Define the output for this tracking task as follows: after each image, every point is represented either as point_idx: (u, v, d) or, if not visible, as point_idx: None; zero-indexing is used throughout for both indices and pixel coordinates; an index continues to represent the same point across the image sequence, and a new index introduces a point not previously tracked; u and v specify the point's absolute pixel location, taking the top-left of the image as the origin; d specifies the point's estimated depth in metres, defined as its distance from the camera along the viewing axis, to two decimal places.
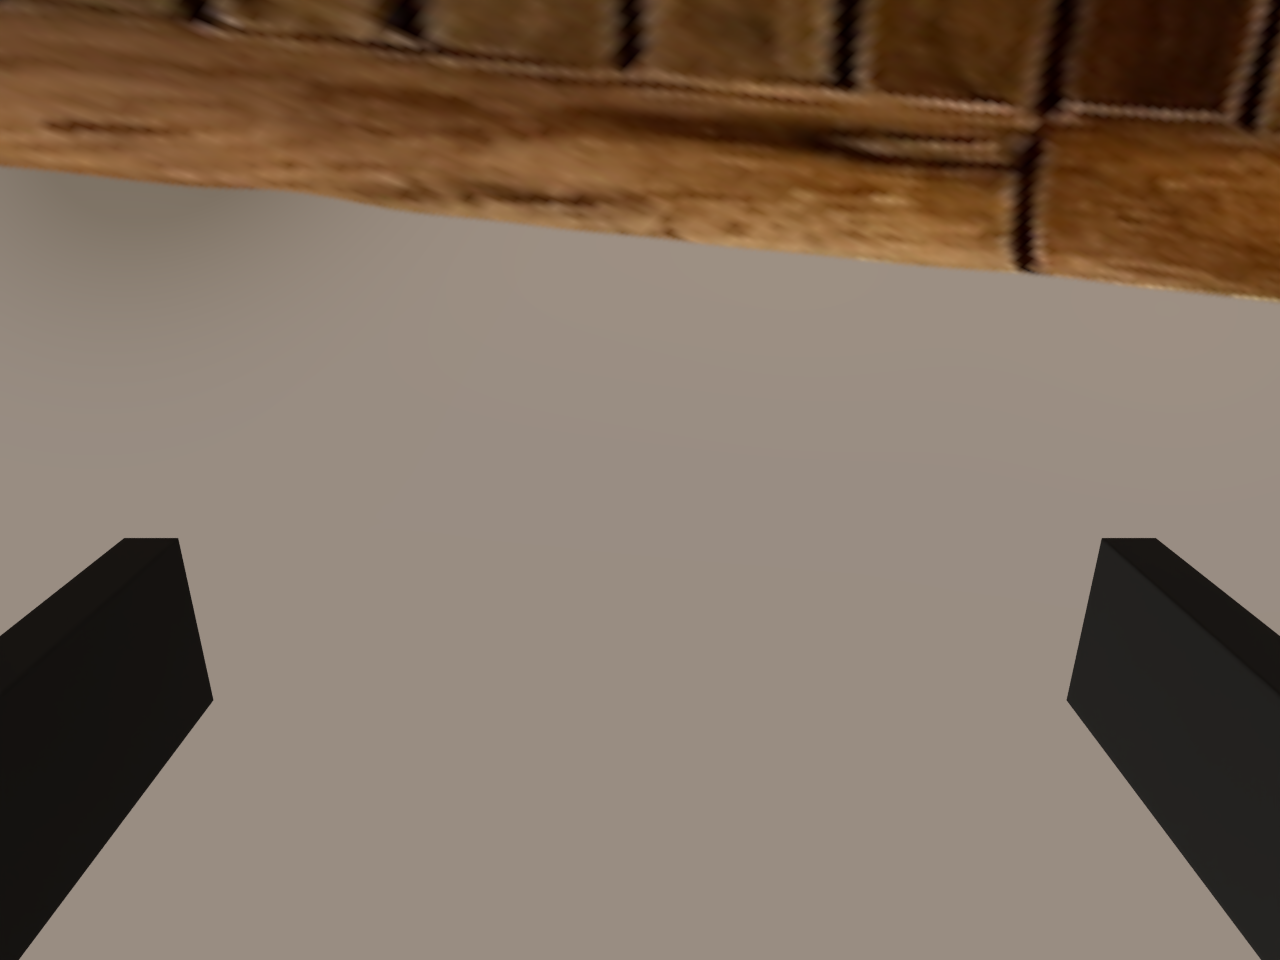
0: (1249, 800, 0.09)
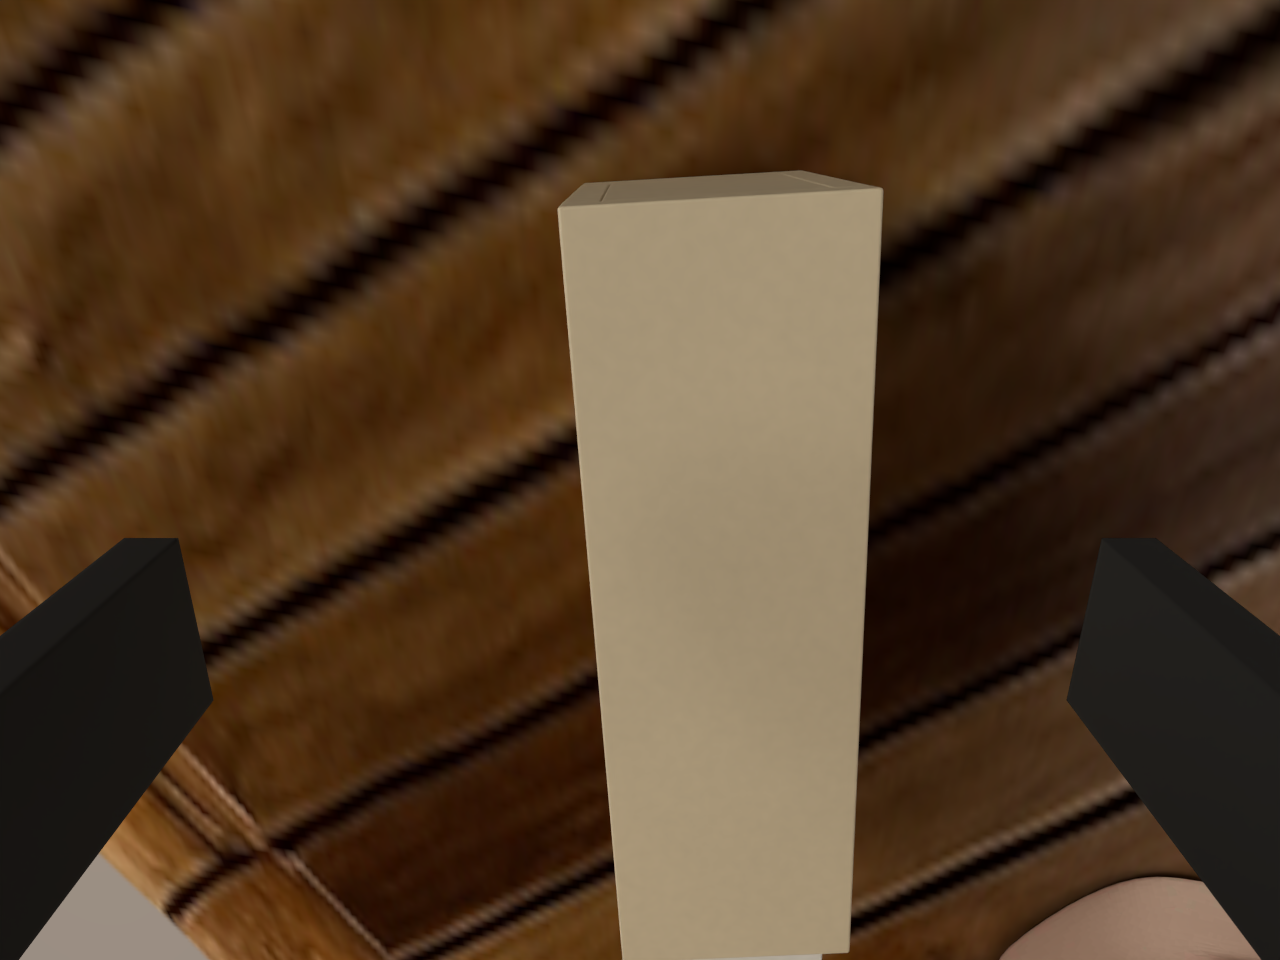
0: (1249, 800, 0.09)
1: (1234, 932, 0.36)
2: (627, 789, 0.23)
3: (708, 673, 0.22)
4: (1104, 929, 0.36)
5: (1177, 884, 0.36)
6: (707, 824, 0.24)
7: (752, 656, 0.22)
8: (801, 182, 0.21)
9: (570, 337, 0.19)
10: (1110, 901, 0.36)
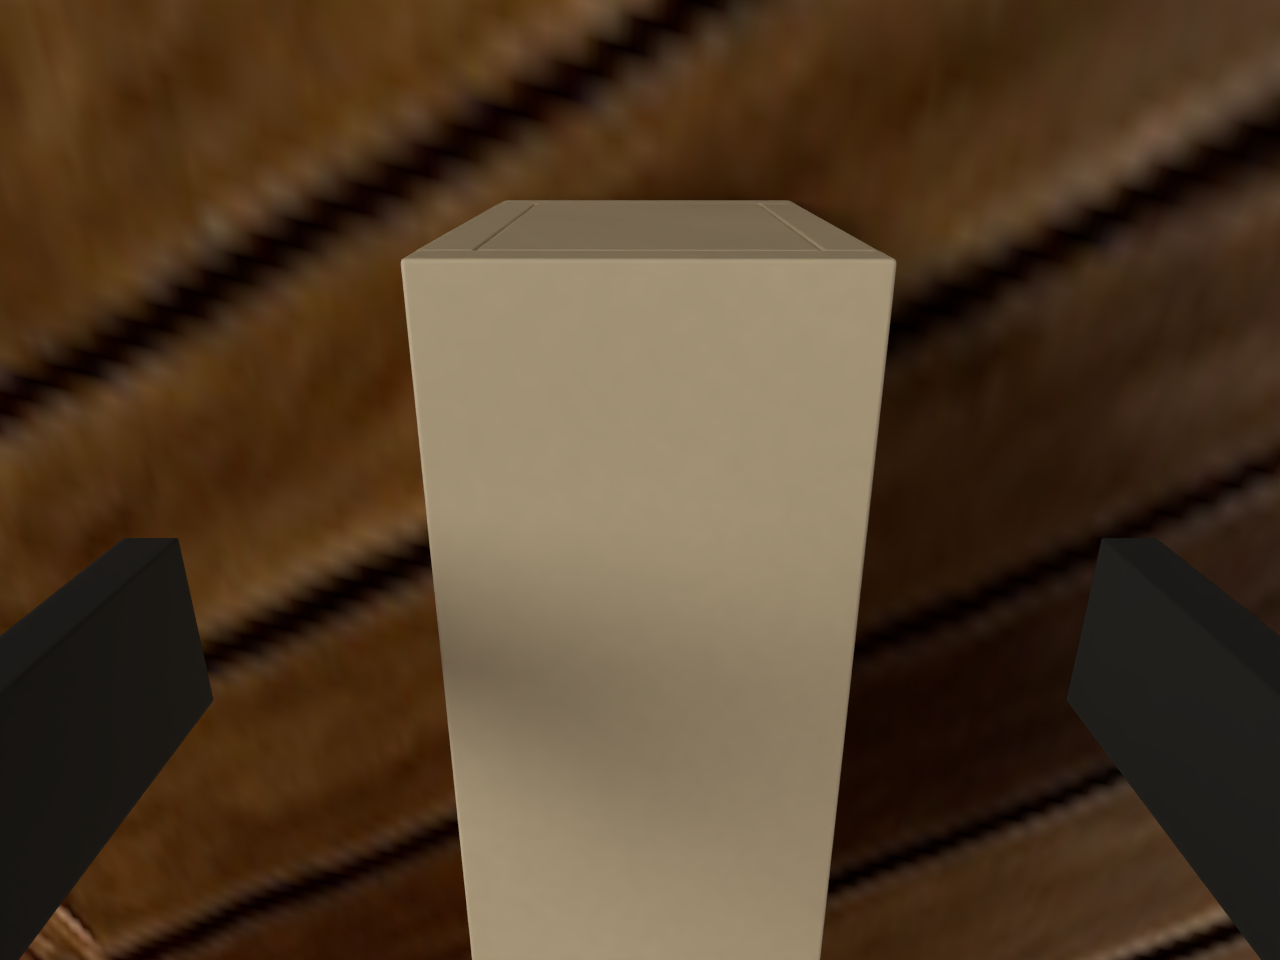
0: (1248, 799, 0.09)
1: None
2: None
3: (616, 894, 0.16)
4: None
5: None
6: None
7: (677, 877, 0.16)
8: (780, 230, 0.15)
9: (422, 448, 0.13)
10: None
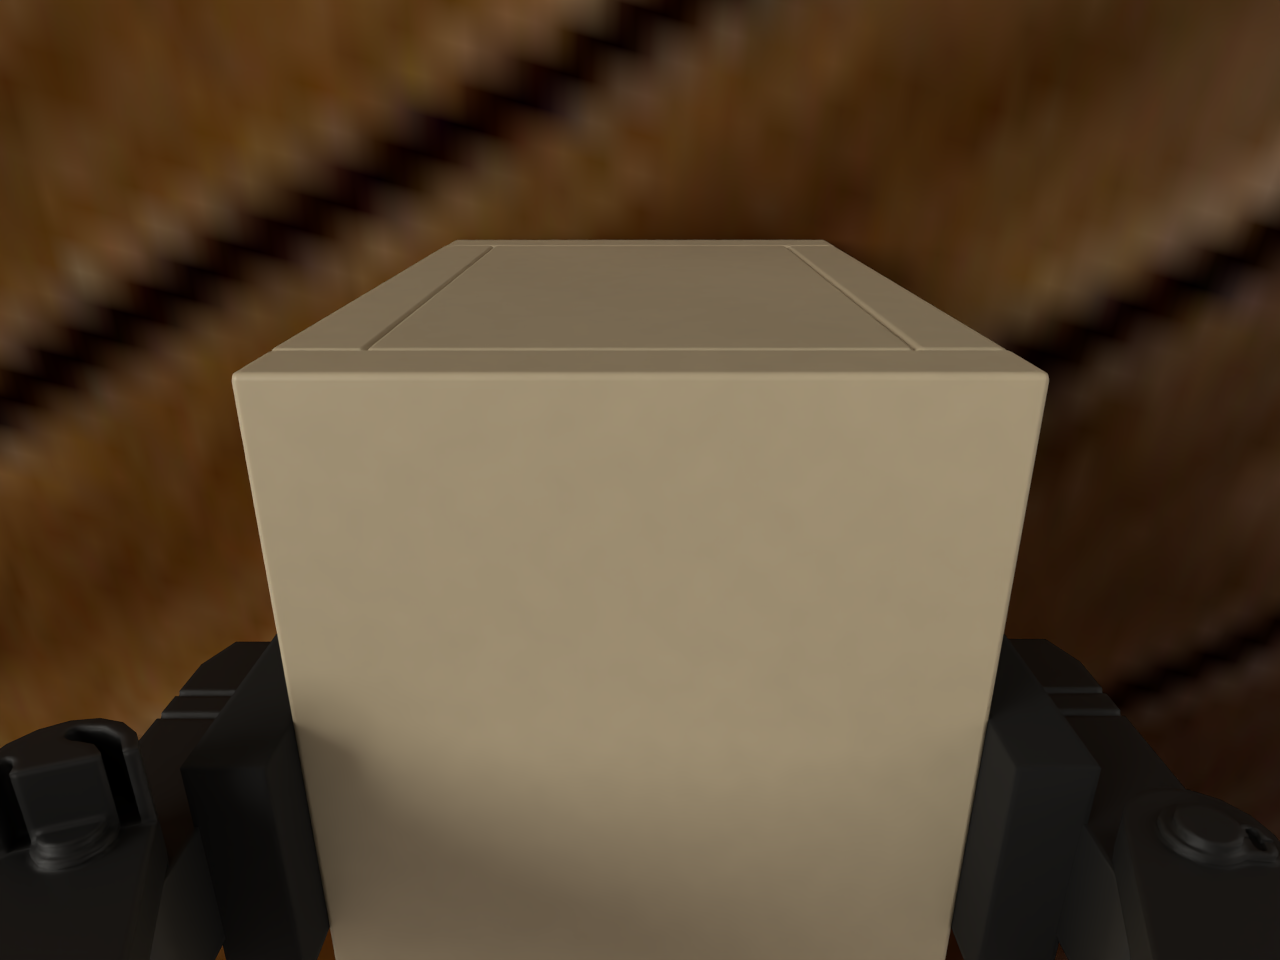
0: None
1: None
2: None
3: None
4: None
5: None
6: None
7: None
8: (833, 300, 0.10)
9: (285, 657, 0.08)
10: None
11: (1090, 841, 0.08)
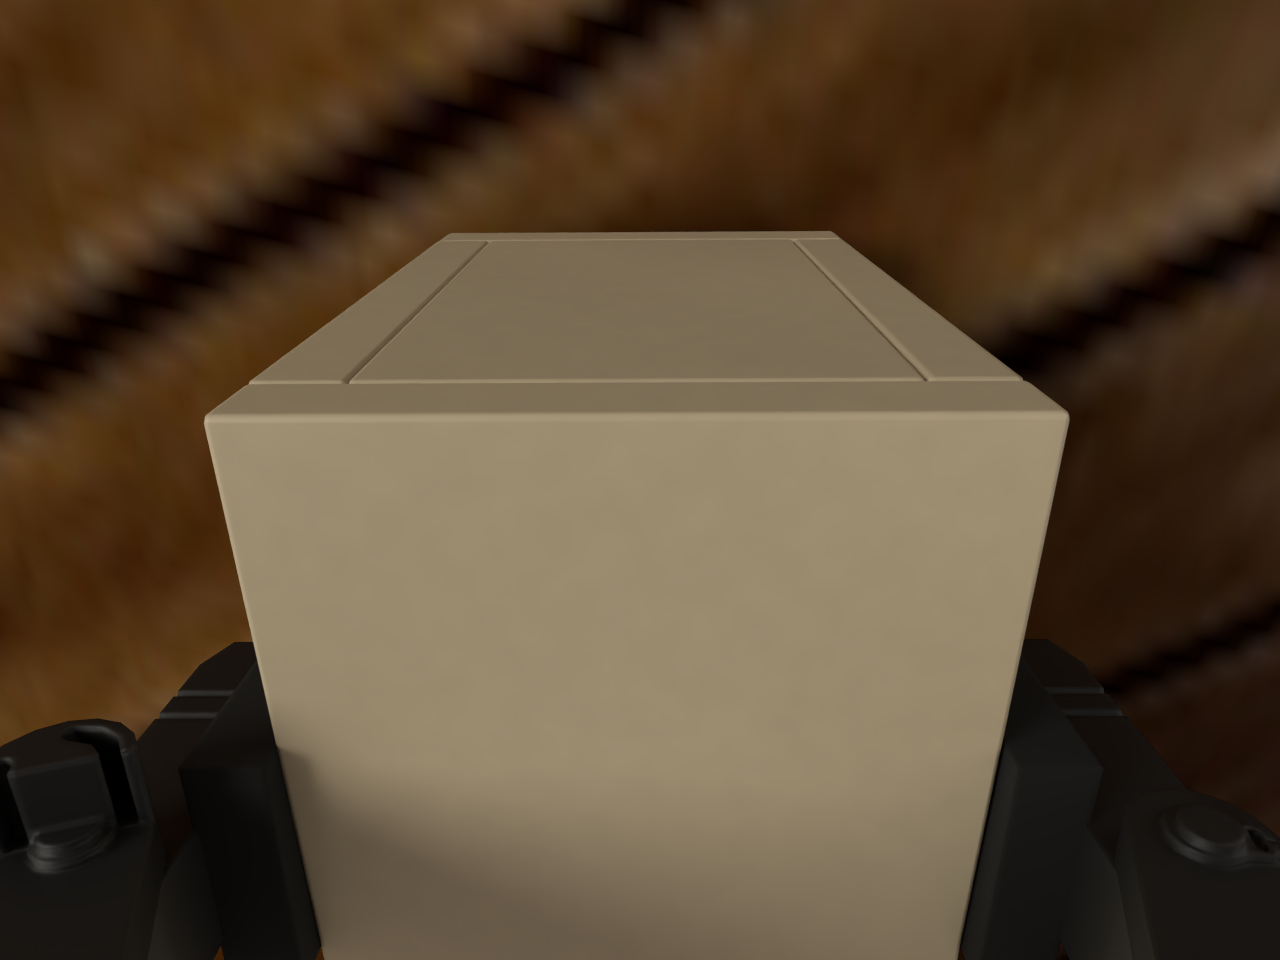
0: None
1: None
2: None
3: None
4: None
5: None
6: None
7: None
8: (840, 312, 0.10)
9: (269, 700, 0.08)
10: None
11: (1092, 842, 0.08)
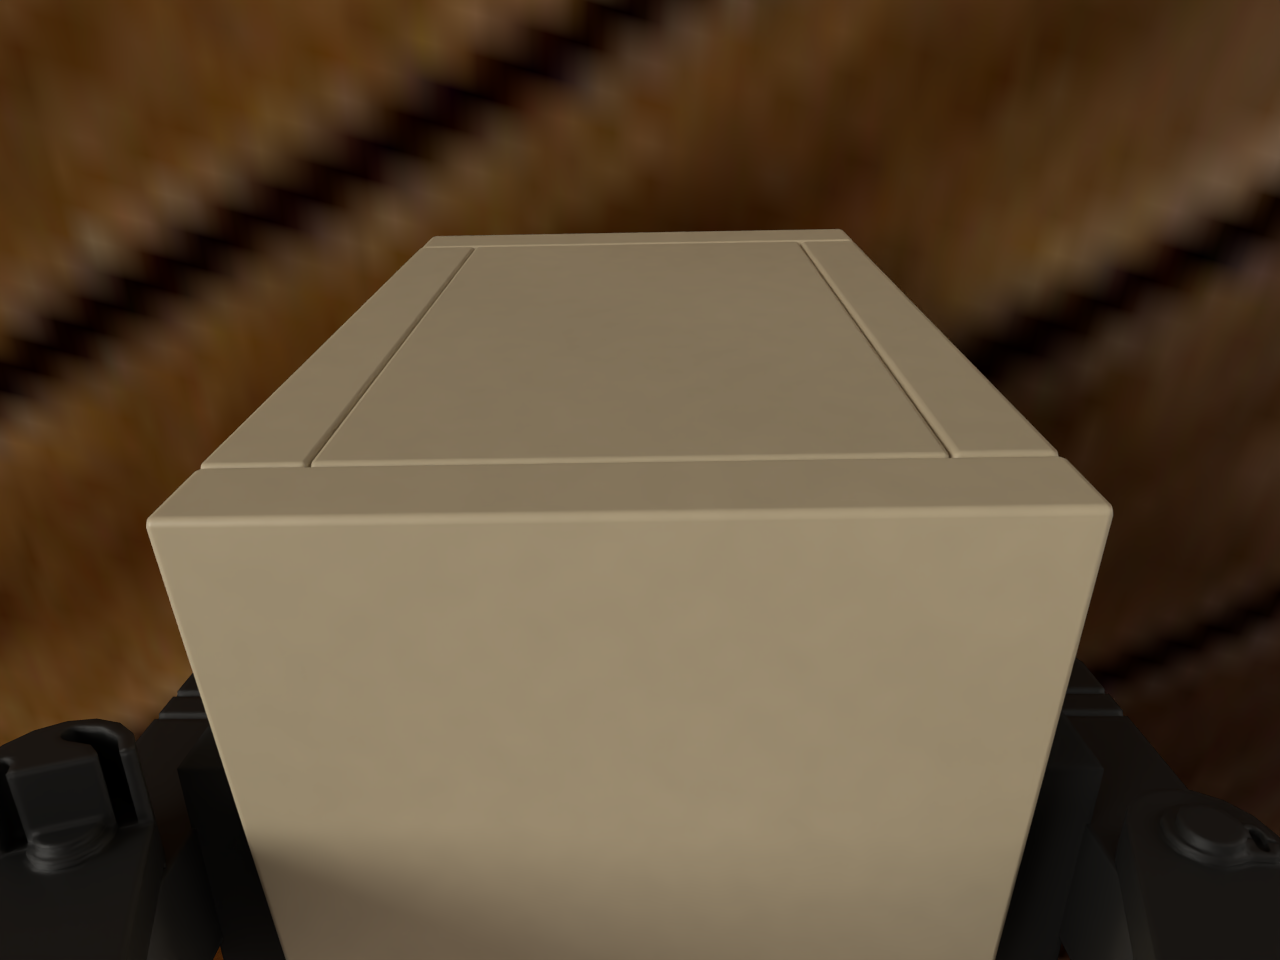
0: None
1: None
2: None
3: None
4: None
5: None
6: None
7: None
8: (852, 351, 0.09)
9: (238, 801, 0.07)
10: None
11: (1093, 842, 0.08)
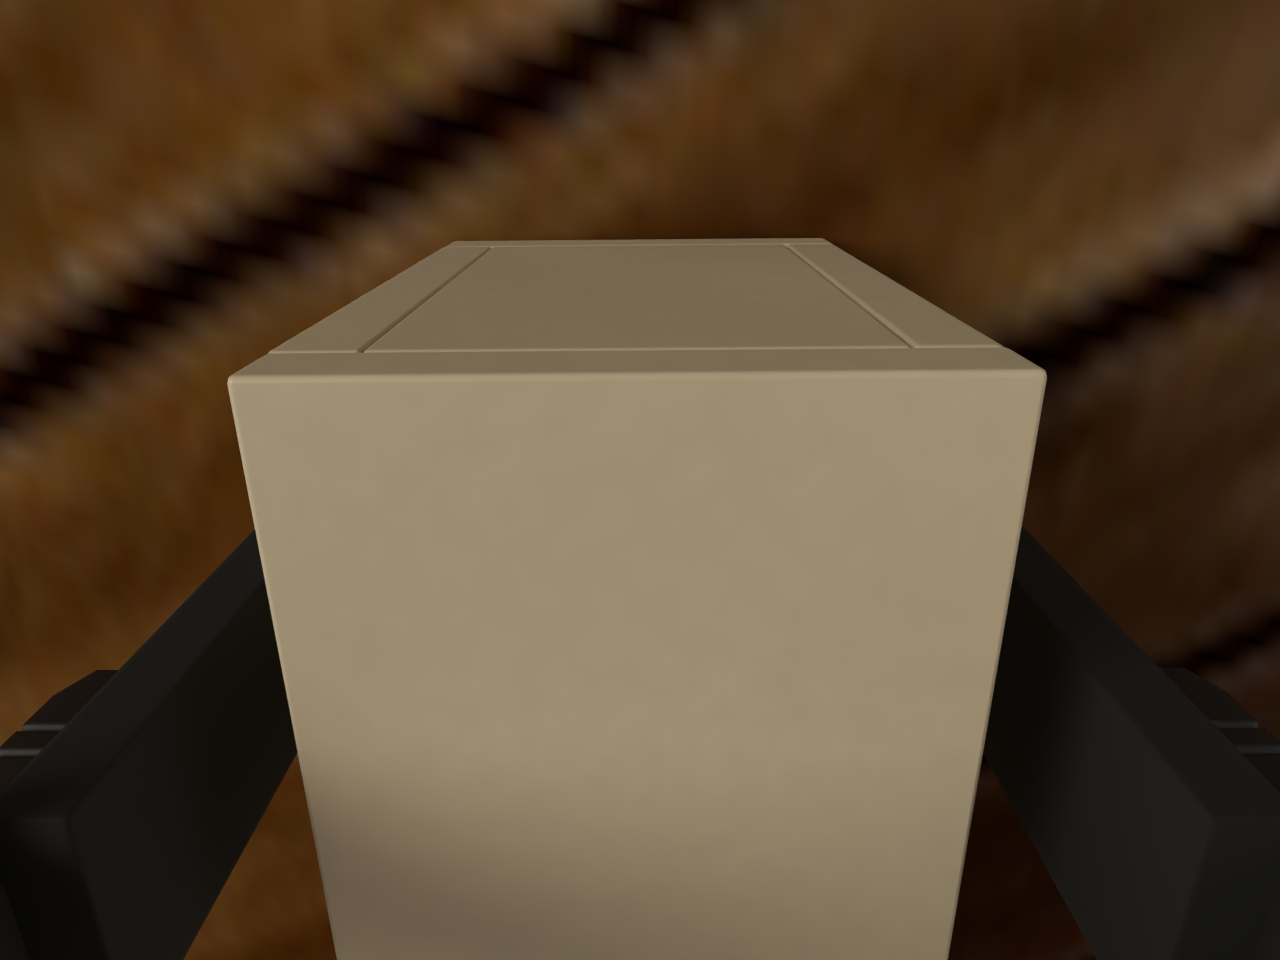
0: (1041, 730, 0.10)
1: None
2: None
3: None
4: None
5: None
6: None
7: None
8: (831, 298, 0.10)
9: (283, 660, 0.08)
10: None
11: None
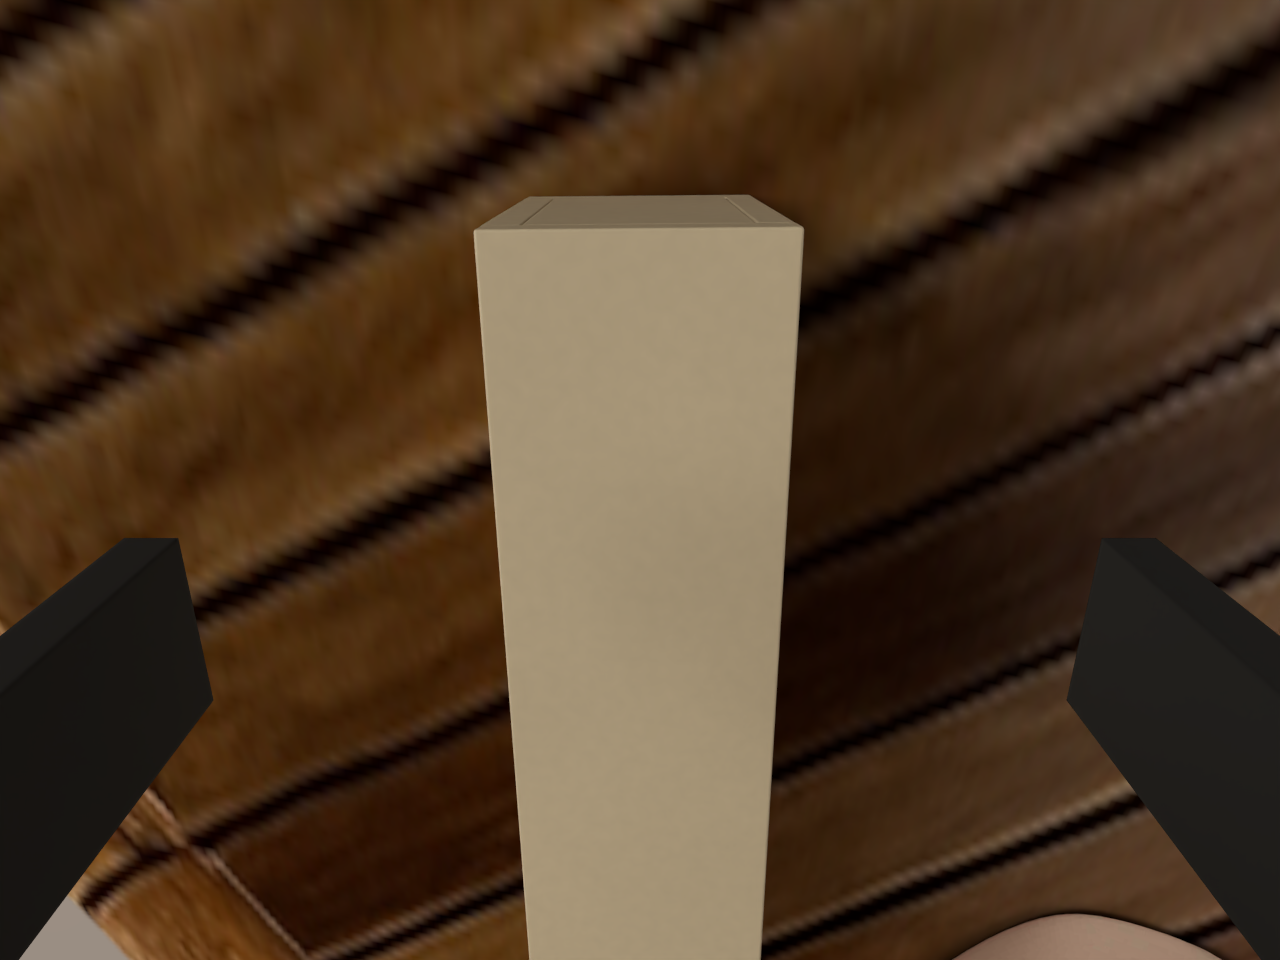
0: (1249, 799, 0.09)
1: None
2: (538, 813, 0.23)
3: (621, 702, 0.22)
4: None
5: (1097, 922, 0.37)
6: (618, 851, 0.24)
7: (665, 687, 0.22)
8: (733, 212, 0.21)
9: (485, 361, 0.19)
10: (1030, 936, 0.37)
11: None
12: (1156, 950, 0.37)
